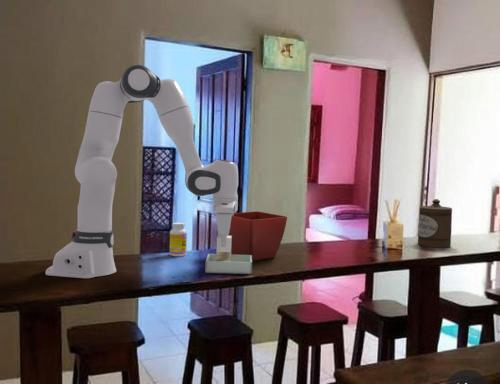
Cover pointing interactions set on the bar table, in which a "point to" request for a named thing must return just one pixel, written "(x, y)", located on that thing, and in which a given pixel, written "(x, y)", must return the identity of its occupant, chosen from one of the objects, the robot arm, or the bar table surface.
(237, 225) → the plant pot
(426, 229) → the wooden container
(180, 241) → the supplement bottle
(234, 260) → the tray
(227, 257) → the beech block
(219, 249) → the white cube
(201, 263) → the bar table surface
